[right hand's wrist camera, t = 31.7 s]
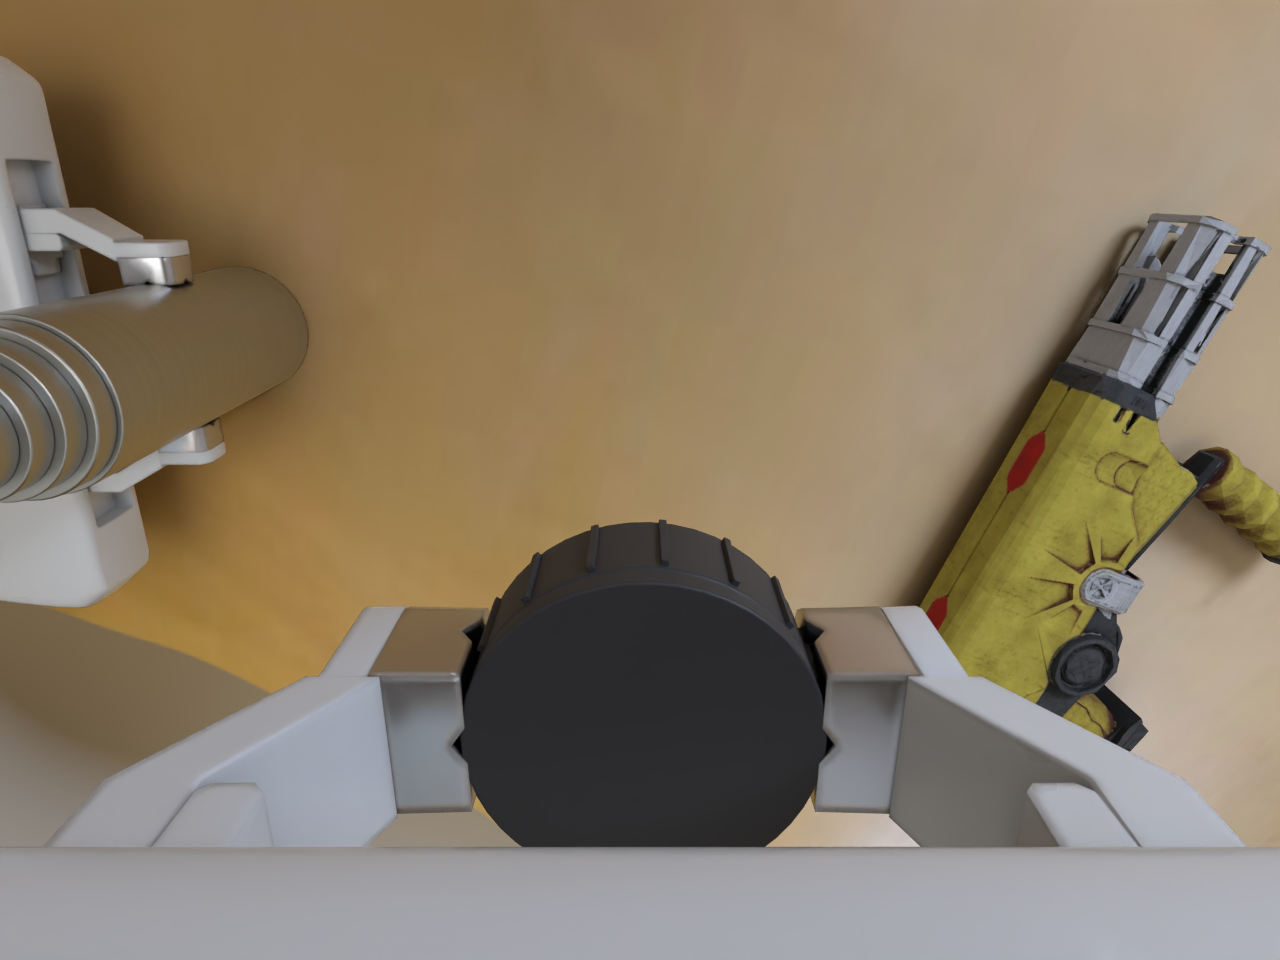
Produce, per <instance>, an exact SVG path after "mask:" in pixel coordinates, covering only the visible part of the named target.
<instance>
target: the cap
mask: <svg viewBox="0 0 1280 960" xmlns="http://www.w3.org/2000/svg"><path fill="white" fill-rule="evenodd" d="M477 650H478V651H480V655H479V658H478V661H477V664H476V667H475V670H474V673H473V675H472V678H471V682H470V684H469V687H468V690H467V693H466V696H465V700H464V705H463V717H464V728H465V729H464V730H463V731H462V733H461V734H460V740H461V749H462V756H463V758H464V760H465V761H466V762H467V763H468V772H469V780H470V782H471V785H472V787H473V789H474V791H475V794H476V796H477V797H478V799H479V800H480V802H481V804H482V805H483V807H484V808H485V810H486V811H487V813H488V814H489V815H490V816H491V818H492V819H493V820H494V821H495V822H496V824H497V825H498V826H499V827H500V828H501V829H502V830H503V831H504V832H505V833H506V834H507V835H509V836H510V837H511V838H512V839H513V840H514V841H515V842H516V843H518V844H519V845H521V846H522V847H765V846H766V845H768V844H769V843H770V842H772V841H773V840H774V839H776V838H777V837H778V836H779V835H780V834H781V833H782V832H783V831H784V830H785V829H786V828H787V827H788V826H789V825H790V824H791V823H792V822H793V820H794V819H795V818H796V816H797V815H798V814H799V813H800V811H801V810H802V809H803V808H804V806H805V804H806V802H807V801H808V799H809V797H810V795H811V794H812V792H813V790H814V788H815V785H816V783H817V780H818V772H819V763H820V762H821V761H822V760H823V758H824V757H825V753H826V743H827V734H826V732H825V731H824V730H823V719H824V703H823V698H822V694H821V691H820V688H819V685H818V682H817V675H816V673H815V670H814V667H813V665H812V664H813V654H812V651H811V648H810V646H809V644H806V643H804V640H803V637H802V634H801V631H800V629H799V628H798V627H797V624H796V621H795V619H794V616H793V614H792V611H791V609H790V607H789V604H788V602H787V601H786V599H785V597H784V594H783V591H782V589H781V586H780V583H779V580H778V579H777V578H776V576H773V577H772V578H770V577H769V575H768V574H767V573H766V572H765V571H764V570H763V569H762V568H761V567H760V566H759V565H758V564H756V563H755V562H754V561H753V560H752V559H751V558H750V557H748V556H747V555H745V554H744V553H742V552H741V551H739V550H738V549H737V548H735V547H734V546H732V545H731V542H730V540H729V539H727V538H725V537H724V538H723V540H720V539H718V538H716V537H714V536H711V535H708V534H706V533H703V532H700V531H697V530H695V529H690V528H686V527H681V526H677V525H673V524H666V520H659V523H653V522H640V523H623V524H616V525H609V526H604V527H601V528H599V526H598V525H594V526H591V530H590V531H586V532H583V533H581V534H578V535H576V536H573V537H571V538H569V539H566V540H564V541H563V542H561V543H559V544H557V545H555V546H554V547H552V548H550V549H548V550H547V551H545V552H544V553H543V554H541V555H540V553H539V552H537V553H536V554H534V555H533V557H532V561H531V563H530V564H529V565H528V566H527V567H526V568H525V569H524V570H523V571H522V572H521V573H520V574H519V575H518V576H517V577H516V578H515V580H514V581H513V582H512V583H511V585H510V586H509V587H508V589H507V590H506V591H505V593H504V595H503V597H502V598H501V599H500V598H498V597H496V599H495V601H494V603H493V606H492V609H491V611H490V614H489V617H488V620H487V623H486V626H485V628H484V631H483V634H482V637H481V640H480V643H479V645H478V648H477Z"/></svg>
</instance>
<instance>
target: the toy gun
mask: <svg viewBox="0 0 1280 960" xmlns="http://www.w3.org/2000/svg"><path fill="white" fill-rule="evenodd" d="M1168 222H1178V223H1188V225H1187V226H1186V228H1185V229H1184V228H1182V227H1180V226H1175V225H1172V224H1170V223H1168ZM1147 223H1149V225H1148V226H1147V228H1146V230H1145V231H1144V233H1143V235H1142V236H1141V238H1140V240H1139V241H1138V243H1137V245H1136V246H1135V248H1134V250H1133V251H1132V253H1131V255H1130V256H1129V258H1128V260H1127V261H1126V263H1125V265H1124V266H1120V269H1119V271H1118V275H1119V276H1118V277H1117V279H1116V281H1115V282H1114V284H1113V286H1112V287H1111V289H1110V291H1109V292H1108V294H1107V296H1106V297H1105V299H1104V301H1103V302H1102V304H1101V306H1100V307H1099V309H1098V311H1097V312H1096V314H1095V316H1094V317H1093V318H1091V319H1090V321H1089V322H1088V324H1087V325H1089V327H1088V328H1087V330H1086V331H1085V333H1084V334H1083V336H1082V337H1081V339H1080V340H1079V342H1078V343H1077V345H1076V346H1075V348H1074V349H1073V350H1072V352H1071V353H1070V355H1069V356H1068V358H1067V360H1066V361H1065V362H1060V364H1059V365H1058V367H1057V369H1056V371H1055V373H1054V375H1053V376H1052V378H1051V380H1050V382H1049V384H1048V385H1047V387H1046V389H1045V390H1044V392H1043V394H1042V396H1041V397H1040V399H1039V401H1038V403H1037V404H1036V406H1035V408H1034V409H1033V411H1032V413H1031V415H1030V416H1029V418H1028V420H1027V422H1026V423H1025V425H1024V427H1023V429H1022V430H1021V432H1020V434H1019V435H1018V437H1017V439H1016V441H1015V442H1014V444H1013V446H1012V448H1011V449H1010V451H1009V453H1008V454H1007V456H1006V458H1005V460H1004V461H1003V463H1002V465H1001V467H1000V468H999V470H998V472H997V474H996V475H995V477H994V479H993V480H992V482H991V484H990V486H989V487H988V489H987V491H986V493H985V494H984V496H983V498H982V499H981V501H980V503H979V505H978V506H977V508H976V510H975V512H974V513H973V515H972V517H971V519H970V520H969V522H968V524H967V525H966V527H965V529H964V531H963V532H962V534H961V536H960V538H959V539H958V541H957V543H956V544H955V546H954V548H953V550H952V551H951V553H950V555H949V557H948V558H947V560H946V562H945V563H944V565H943V567H942V569H941V570H940V572H939V574H938V576H937V577H936V579H935V581H934V583H933V584H932V586H931V588H930V589H929V591H928V593H927V595H926V596H925V598H924V600H923V602H922V603H921V605H920V607H919V608H922V609H923V611H924V612H925V614H926V615H927V617H928V618H929V620H930V621H931V622H932V624H933V625H934V627H935V628H936V630H937V631H938V633H939V634H940V636H941V637H942V638H943V640H944V641H945V643H946V644H947V646H948V647H949V649H950V650H951V651H952V653H953V654H954V656H955V657H956V659H957V660H958V662H959V663H960V665H961V666H962V667H963V669H964V670H965V672H966V673H967V675H968V676H976V677H983V678H985V679H987V680H989V681H991V682H993V683H995V684H997V685H999V686H1001V687H1003V688H1005V689H1007V690H1009V691H1011V692H1013V693H1015V694H1017V695H1019V696H1021V697H1023V698H1025V699H1027V700H1029V701H1031V702H1033V703H1035V704H1036V705H1038V706H1040V707H1042V708H1044V709H1046V710H1048V711H1050V712H1052V713H1054V714H1056V715H1058V716H1060V717H1062V718H1064V719H1066V720H1068V721H1070V722H1072V723H1074V724H1076V725H1078V726H1080V727H1082V728H1084V729H1086V730H1088V731H1090V732H1092V733H1094V734H1096V735H1098V736H1100V737H1102V738H1103V739H1105V740H1107V741H1109V742H1111V743H1113V744H1115V745H1117V746H1119V747H1121V748H1123V749H1125V750H1127V751H1129V752H1130V751H1131V750H1132V749H1133V748H1134V747H1135V746H1136V745H1137V743H1138V742H1139V741H1140V740H1141V739H1142V738H1143V737H1144V736H1145V735H1146V734H1147V732H1148V730H1147V729H1146V728H1145V727H1144V725H1143V724H1142V723H1143V722H1142V719H1141V718H1140V717H1139V716H1138V715H1137V714H1136V713H1135V712H1134V711H1133V710H1131V709H1130V708H1129V707H1128V706H1127V705H1126V704H1125V703H1124V702H1123V701H1122V700H1120V699H1119V698H1118V697H1117V696H1116V695H1115V694H1114V693H1113V692H1112V691H1111V690H1109V689H1108V688H1107V687H1106V686H1105V685H1104V684H1105V683H1106V682H1107V681H1108V680H1109V679H1110V678H1111V677H1112V676H1113V675H1114V674H1115V673H1116V672H1117V668H1118V663H1119V657H1118V651H1119V648H1120V645H1121V642H1122V639H1123V638H1122V634H1121V631H1120V627H1119V626H1118V625H1117V614H1118V615H1119V614H1122V613H1126V611H1127V610H1128V608H1129V607H1130V605H1131V604H1132V602H1133V601H1134V599H1135V598H1136V596H1137V594H1138V593H1139V591H1140V590H1141V588H1142V587H1143V586H1144V582H1143V581H1142V580H1141V579H1140V578H1139V577H1137V576H1136V575H1134V574H1133V573H1131V572H1130V571H1128V569H1129V568H1130V567H1131V566H1132V565H1133V564H1134V563H1135V562H1136V560H1137V559H1138V558H1139V557H1140V556H1141V555H1142V554H1143V553H1144V552H1145V550H1146V549H1147V548H1148V547H1149V546H1150V545H1151V544H1152V543H1153V542H1154V541H1155V539H1156V538H1157V537H1158V536H1159V535H1160V534H1161V533H1162V532H1163V531H1164V530H1165V528H1166V527H1167V526H1168V525H1169V524H1170V523H1171V522H1172V521H1173V520H1174V518H1175V517H1176V516H1177V515H1178V514H1179V513H1180V512H1181V510H1182V509H1183V508H1184V507H1185V506H1186V505H1187V503H1188V502H1189V501H1190V500H1191V499H1192V498H1193V497H1194V496H1195V497H1197V498H1198V499H1200V500H1201V501H1202V502H1203V503H1204V505H1205V506H1206V507H1207V509H1209V510H1212V511H1214V512H1217V513H1218V514H1219V515H1220V517H1221V518H1222V520H1223V521H1224V523H1226V524H1227V525H1230V526H1234V527H1236V529H1237V531H1238V533H1239V535H1241V536H1242V537H1243V538H1245V539H1248V540H1251V541H1253V542H1254V545H1255V548H1256V549H1258V550H1260V551H1261V553H1262V555H1263V557H1264V558H1266V559H1267V560H1269V561H1270V562H1273V563H1277V564H1280V495H1278V493H1277V492H1276V491H1275V490H1274V489H1273V488H1271V487H1270V486H1269V485H1267V484H1266V483H1265V482H1263V481H1262V480H1260V479H1259V477H1258V476H1257V474H1256V473H1255V472H1253V471H1251V470H1249V469H1247V468H1245V467H1243V466H1242V464H1241V462H1240V460H1239V458H1238V457H1237V456H1236V455H1234V454H1233V453H1232V452H1230V451H1229V450H1228V449H1224V448H1221V447H1214V448H1209V449H1203V450H1199V451H1198V452H1197V453H1195V454H1194V455H1193V456H1192V457H1191V458H1189V459H1188V460H1187V461H1186V462H1185V463H1183V464H1182V463H1179V462H1177V461H1176V460H1175V458H1174V457H1173V456H1172V454H1171V453H1170V451H1169V450H1168V449H1167V447H1166V446H1165V445H1164V443H1162V442H1161V439H1160V435H1159V430H1158V425H1157V424H1158V422H1159V420H1160V419H1161V417H1162V416H1163V414H1164V413H1165V411H1166V410H1167V408H1168V406H1169V405H1173V402H1174V399H1175V397H1173V396H1174V395H1175V393H1176V392H1177V391H1178V389H1179V388H1180V386H1181V385H1182V383H1183V382H1184V381H1185V379H1186V378H1187V376H1188V375H1189V373H1190V372H1191V371H1192V369H1193V368H1194V366H1195V365H1197V364H1198V362H1199V360H1200V355H1201V353H1202V352H1203V350H1204V349H1205V347H1206V346H1207V344H1208V343H1209V341H1210V339H1211V338H1212V336H1213V335H1214V333H1215V332H1216V330H1217V329H1218V327H1219V325H1220V324H1221V322H1222V321H1223V319H1224V318H1225V316H1226V314H1227V313H1228V311H1232V309H1233V307H1234V305H1235V303H1234V302H1233V300H1234V298H1235V297H1236V295H1237V294H1238V292H1239V291H1240V289H1241V288H1242V286H1243V285H1244V283H1245V282H1246V281H1247V279H1248V278H1249V276H1250V275H1251V273H1252V272H1253V270H1254V269H1255V267H1256V266H1257V264H1258V263H1259V262H1260V260H1261V259H1262V257H1264V256H1267V255H1268V253H1269V251H1270V250H1271V248H1270V247H1269V246H1268V245H1267V244H1266V243H1264V242H1262V241H1260V240H1259V239H1257V238H1254V237H1239V236H1237V235H1235V234H1236V233H1237V231H1238V230H1239V229H1238V228H1236V227H1234V226H1232V225H1230V224H1228V223H1226V222H1224V221H1222V220H1219V219H1216V218H1214V217H1211V216H1198V215H1178V214H1151V215H1150V217H1149V220H1148V222H1147ZM1168 232H1172V233H1177V234H1179V235H1180V237H1179V239H1178V240H1177V242H1176V244H1175V245H1174V247H1173V249H1172V250H1171V252H1170V254H1169V255H1168V257H1167V258H1166V260H1165V262H1164V263H1163V265H1161V263H1160V261H1159V260H1158V259H1157V257H1154V255H1155V254H1156V252H1157V250H1158V249H1159V247H1160V245H1161V244H1162V242H1163V240H1164V239H1165V237H1166V235H1167V234H1168ZM1230 242H1232V243H1233V244H1237V245H1243V246H1233V245H1229V243H1230ZM1223 253H1228V254H1237V256H1236V257H1235V259H1234V260H1233V262H1232V264H1231V265H1230V267H1229V269H1228V270H1227V272H1226V273H1225V275H1223V274H1216V273H1214V272H1212V270H1213V268H1214V267H1215V265H1216V264H1217V262H1218V261H1219V259H1220V257H1221V256H1222V254H1223Z"/></svg>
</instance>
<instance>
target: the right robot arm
mask: <svg viewBox="0 0 1280 960" xmlns="http://www.w3.org/2000/svg"><path fill="white" fill-rule="evenodd" d="M489 614H490V613H489V610H488V608H452V607H409V608H408V607H407V606H381V607H367V608H364V610H363V611H362V612H361V613H360V615H359V616H358V618H357V619H356V621H355V622H354V624H353V625H352V627H351V628H350V630H349V631H348V633H347V634H346V636H345V637H344V639H343V640H342V642H341V643H340V645H339V646H338V648H337V649H336V651H335V652H334V654H333V655H332V657H331V658H330V660H329V661H328V663H327V664H326V666H325V667H324V669H323V670H322V672H321V673H320V675H319V676H312V677H304V678H302V679H300V680H298V681H296V682H294V683H292V684H290V685H288V686H286V687H284V688H283V689H281V690H279V691H277V692H275V693H273V694H271V695H269V696H267V697H265V698H263V699H261V700H259V701H257V702H255V703H253V704H251V705H249V706H247V707H245V708H243V709H241V710H239V711H238V712H236V713H234V714H232V715H230V716H228V717H226V718H224V719H222V720H220V721H218V722H216V723H214V724H212V725H210V726H208V727H206V728H204V729H202V730H200V731H198V732H196V733H194V734H192V735H191V736H189V737H187V738H185V739H183V740H181V741H179V742H177V743H175V744H173V745H171V746H169V747H167V748H165V749H163V750H161V751H159V752H157V753H155V754H153V755H151V756H149V757H147V758H145V759H143V760H141V761H139V762H138V763H136V764H134V765H132V766H130V767H128V768H126V769H124V770H122V771H120V772H118V773H116V774H114V775H112V776H110V777H108V778H106V779H104V780H103V781H102V782H101V784H100V785H99V786H98V787H97V788H96V789H95V790H94V791H93V792H92V794H91V795H90V796H89V797H88V798H87V799H86V800H85V801H84V802H83V803H82V804H81V805H80V807H79V808H78V809H77V810H76V811H75V812H74V813H73V814H72V815H71V816H70V818H69V819H68V820H67V821H66V822H65V823H64V824H63V825H62V826H61V827H60V828H59V830H58V831H57V832H56V833H55V834H54V835H53V836H52V837H51V838H50V839H49V841H48V842H47V843H46V844H45V845H44V846H43V847H0V960H1280V847H1247V846H1246V845H1245V844H1244V842H1243V841H1242V840H1241V839H1240V838H1239V837H1238V836H1237V835H1236V834H1235V833H1234V832H1233V830H1232V829H1231V828H1230V827H1229V826H1228V825H1227V824H1226V823H1225V822H1224V821H1223V820H1222V819H1221V817H1220V816H1219V815H1218V814H1217V813H1216V812H1215V811H1214V810H1213V809H1212V808H1211V807H1210V806H1209V804H1208V803H1207V802H1206V801H1205V800H1204V799H1203V798H1202V797H1201V796H1200V795H1199V794H1198V793H1197V791H1196V790H1195V789H1194V788H1193V787H1192V786H1191V785H1190V784H1189V783H1188V782H1187V781H1186V780H1184V779H1182V778H1180V777H1178V776H1176V775H1174V774H1172V773H1171V772H1169V771H1167V770H1165V769H1163V768H1161V767H1159V766H1157V765H1155V764H1153V763H1151V762H1149V761H1147V760H1145V759H1143V758H1141V757H1139V756H1137V755H1135V754H1133V753H1131V752H1129V751H1127V750H1125V749H1123V748H1121V747H1119V746H1117V745H1115V744H1113V743H1111V742H1109V741H1107V740H1105V739H1103V738H1102V737H1100V736H1098V735H1096V734H1094V733H1092V732H1090V731H1088V730H1086V729H1084V728H1082V727H1080V726H1078V725H1076V724H1074V723H1072V722H1070V721H1068V720H1066V719H1064V718H1062V717H1060V716H1058V715H1056V714H1054V713H1052V712H1050V711H1048V710H1046V709H1044V708H1042V707H1040V706H1038V705H1036V704H1035V703H1033V702H1031V701H1029V700H1027V699H1025V698H1023V697H1021V696H1019V695H1017V694H1015V693H1013V692H1011V691H1009V690H1007V689H1005V688H1003V687H1001V686H999V685H997V684H995V683H993V682H991V681H989V680H987V679H985V678H983V677H976V676H968V675H967V673H966V672H965V670H964V669H963V667H962V666H961V665H960V663H959V662H958V660H957V659H956V657H955V656H954V654H953V653H952V651H951V650H950V649H949V647H948V646H947V644H946V643H945V641H944V640H943V638H942V637H941V636H940V634H939V633H938V631H937V630H936V628H935V627H934V625H933V624H932V622H931V621H930V620H929V618H928V617H927V615H926V614H925V612H924V611H923V609H922V608H919V607H917V606H897V607H843V608H802V609H799V610H797V611H796V616H795V621H796V624H797V627H798V628H799V629H800V631H801V634H802V637H803V640H804V643H806V644H809V646H810V648H811V651H812V654H813V664H812V665H813V667H814V670H815V673H816V675H817V682H818V685H819V688H820V691H821V694H822V698H823V703H824V719H823V730H824V731H825V732H826V734H827V743H826V753H825V757H824V758H823V760H822V761H821V762H820V763H819V772H818V780H817V783H816V785H815V788H814V790H813V792H812V794H811V795H810V796H811V799H812V803H813V806H814V809H815V812H845V813H882V814H889V817H890V818H891V819H892V820H893V821H894V822H895V823H896V824H897V825H898V826H899V827H900V828H901V829H902V830H904V831H905V832H906V833H907V834H908V835H909V836H910V837H911V838H912V839H913V840H914V841H915V842H916V843H917V844H919V845H920V846H921V847H367V846H368V845H369V844H370V843H371V842H372V841H373V840H374V839H375V838H376V837H377V836H379V835H380V834H381V833H382V832H383V831H384V830H385V829H386V828H387V827H388V826H389V825H390V824H391V823H392V822H393V821H394V820H396V819H397V814H404V813H439V812H472V809H473V805H474V802H475V798H476V794H475V791H474V789H473V787H472V785H471V782H470V780H469V772H468V763H467V762H466V761H465V760H464V758H463V756H462V749H461V740H460V734H461V733H462V731H463V730H464V729H465V728H464V717H463V705H464V700H465V696H466V693H467V690H468V687H469V684H470V682H471V678H472V675H473V673H474V670H475V667H476V664H477V661H478V658H479V655H480V651H478V650H477V648H478V645H479V643H480V640H481V637H482V634H483V631H484V628H485V626H486V623H487V620H488V617H489Z"/></svg>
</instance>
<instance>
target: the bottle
mask: <svg viewBox="0 0 1280 960" xmlns="http://www.w3.org/2000/svg"><path fill="white" fill-rule="evenodd" d="M193 276H194V281H192V282H184V283H183V284H177V285H153V284H151V283H148V284H143V285H135V286H130V287H125V288H120V289H115V290H110V291H105V292H99V293H94V294H89V295H84V296H79V297H74V298H69V299H64V300H59V301H54V302H49V303H44V304H39V305H33V306H28V307H23V308H18V309H13V310H8V311H3V312H0V503H13V502H20V501H40V500H47V499H52V498H56V497H59V496H62V495H65V494H71V493H76V492H78V491H81V490H84V489H87V488H89V487H90V486H92V485H94V484H96V483H98V482H100V481H102V480H104V479H105V478H107V477H109V476H111V475H113V474H115V473H116V472H118V471H120V470H122V469H124V468H126V467H127V466H129V465H131V464H133V463H135V462H137V461H138V460H140V459H142V458H144V457H146V456H148V455H150V454H151V453H153V452H155V451H157V450H159V449H161V448H162V447H164V446H166V445H168V444H170V443H172V442H173V441H175V440H177V439H179V438H181V437H183V436H184V435H186V434H188V433H190V432H192V431H194V430H196V429H197V428H199V427H201V426H203V425H205V424H207V423H208V422H210V421H212V420H214V419H216V418H218V417H219V416H221V415H223V414H225V413H227V412H229V411H230V410H232V409H234V408H236V407H238V406H240V405H242V404H243V403H245V402H247V401H249V400H251V399H253V398H254V397H256V396H258V395H260V394H262V393H264V392H265V391H267V390H269V389H271V388H273V387H275V386H276V385H278V384H280V383H282V382H284V381H286V380H287V379H288V378H290V377H291V376H292V375H293V374H294V373H295V372H296V371H297V370H298V368H299V367H300V366H301V364H302V362H303V360H304V357H305V354H306V351H307V346H308V330H307V325H306V320H305V317H304V314H303V312H302V310H301V308H300V306H299V304H298V303H297V301H296V299H295V298H294V297H293V296H292V294H291V293H290V292H289V291H288V290H287V289H286V288H285V287H284V286H283V285H282V284H281V283H279V282H278V281H277V280H276V279H274V278H272V277H271V276H269V275H267V274H265V273H263V272H261V271H258V270H255V269H251V268H246V267H226V268H221V269H216V270H211V271H206V272H201V273H196V274H193Z"/></svg>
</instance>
